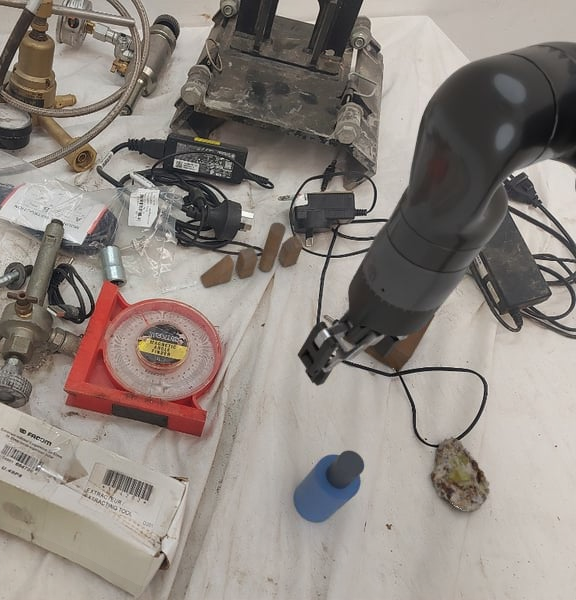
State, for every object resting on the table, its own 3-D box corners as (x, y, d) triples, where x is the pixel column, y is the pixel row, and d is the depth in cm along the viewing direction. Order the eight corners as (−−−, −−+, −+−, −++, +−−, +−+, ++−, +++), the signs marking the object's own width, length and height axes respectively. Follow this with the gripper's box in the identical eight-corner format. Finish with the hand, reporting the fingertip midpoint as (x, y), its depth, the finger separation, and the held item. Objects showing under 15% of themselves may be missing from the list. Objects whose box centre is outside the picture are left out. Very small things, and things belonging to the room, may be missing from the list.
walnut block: (422, 331, 97) (435, 315, 93) (398, 372, 92) (411, 357, 88) (368, 300, 100) (379, 283, 96) (342, 338, 95) (352, 322, 91)
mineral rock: (507, 511, 78) (459, 504, 76) (483, 519, 82) (437, 513, 80) (482, 436, 85) (438, 428, 83) (461, 447, 88) (418, 439, 86)
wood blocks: (289, 254, 104) (304, 215, 96) (295, 265, 103) (311, 226, 95) (159, 287, 98) (163, 249, 90) (164, 299, 97) (168, 261, 88)
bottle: (341, 510, 79) (385, 473, 66) (309, 530, 77) (347, 496, 64) (317, 474, 82) (355, 431, 69) (285, 492, 80) (317, 452, 67)
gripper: (366, 335, 45) (311, 418, 58) (500, 279, 49) (419, 368, 63) (314, 265, 49) (273, 358, 62) (442, 219, 53) (378, 315, 66)
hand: (347, 363), depth 62 cm, fingers open, 8 cm apart
